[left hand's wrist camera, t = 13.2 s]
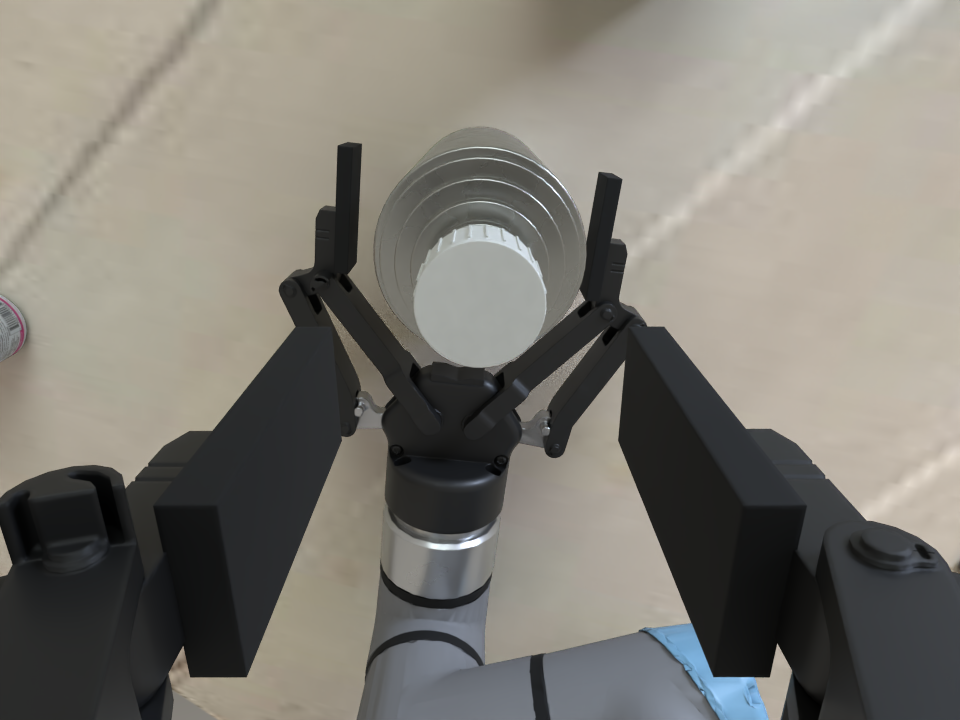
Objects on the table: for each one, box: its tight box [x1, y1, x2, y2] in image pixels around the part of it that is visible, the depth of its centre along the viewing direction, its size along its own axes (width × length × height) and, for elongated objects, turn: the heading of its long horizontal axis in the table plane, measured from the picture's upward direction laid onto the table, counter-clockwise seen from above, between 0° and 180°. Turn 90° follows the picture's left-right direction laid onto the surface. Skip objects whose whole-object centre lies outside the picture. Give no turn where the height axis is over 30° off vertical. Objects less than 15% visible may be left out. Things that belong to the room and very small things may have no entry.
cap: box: [413, 224, 547, 368], centre depth 21 cm, size 4×4×2 cm
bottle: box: [374, 127, 586, 341], centre depth 30 cm, size 8×8×22 cm
